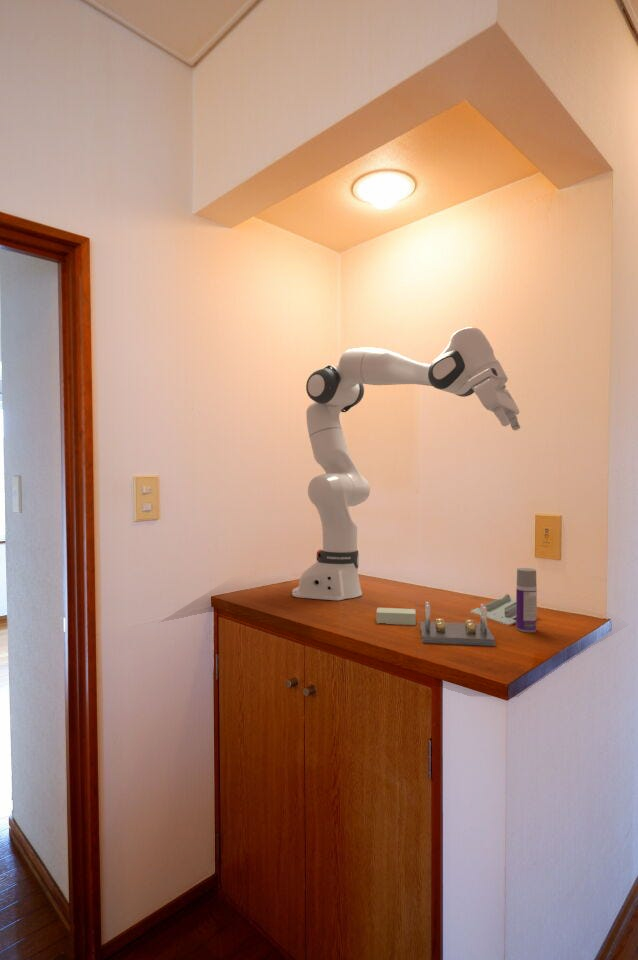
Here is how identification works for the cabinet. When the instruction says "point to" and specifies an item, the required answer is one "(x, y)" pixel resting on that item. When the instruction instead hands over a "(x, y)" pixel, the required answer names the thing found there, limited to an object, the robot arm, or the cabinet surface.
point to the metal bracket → (501, 610)
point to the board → (396, 616)
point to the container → (526, 600)
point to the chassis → (456, 630)
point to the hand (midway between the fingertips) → (512, 427)
